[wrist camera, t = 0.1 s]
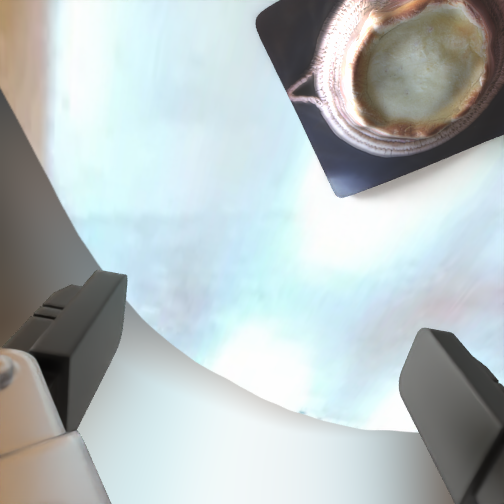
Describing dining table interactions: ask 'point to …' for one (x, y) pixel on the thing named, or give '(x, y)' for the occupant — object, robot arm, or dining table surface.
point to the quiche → (388, 81)
